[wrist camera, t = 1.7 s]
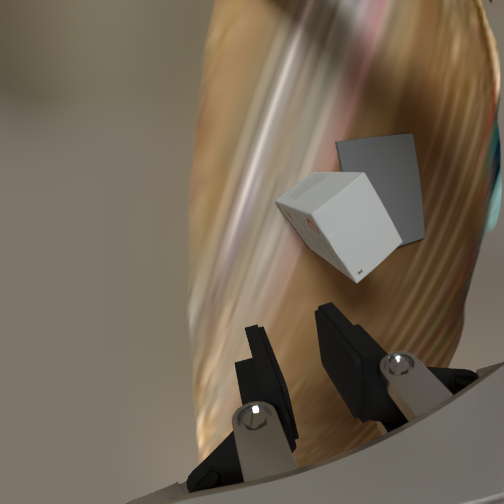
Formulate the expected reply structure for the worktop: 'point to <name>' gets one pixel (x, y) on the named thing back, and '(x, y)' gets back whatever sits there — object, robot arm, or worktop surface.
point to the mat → (390, 177)
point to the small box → (341, 220)
